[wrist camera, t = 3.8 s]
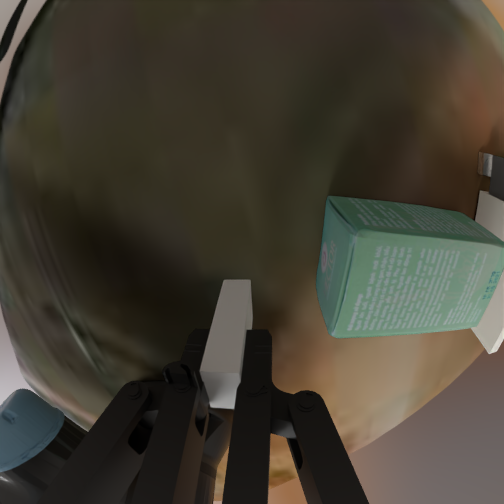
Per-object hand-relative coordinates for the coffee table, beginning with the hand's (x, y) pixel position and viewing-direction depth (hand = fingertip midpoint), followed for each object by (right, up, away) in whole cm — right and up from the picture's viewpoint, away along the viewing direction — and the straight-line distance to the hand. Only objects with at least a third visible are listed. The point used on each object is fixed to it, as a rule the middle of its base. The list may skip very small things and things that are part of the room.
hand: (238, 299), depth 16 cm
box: (+12, +4, +5) cm, 14 cm away
